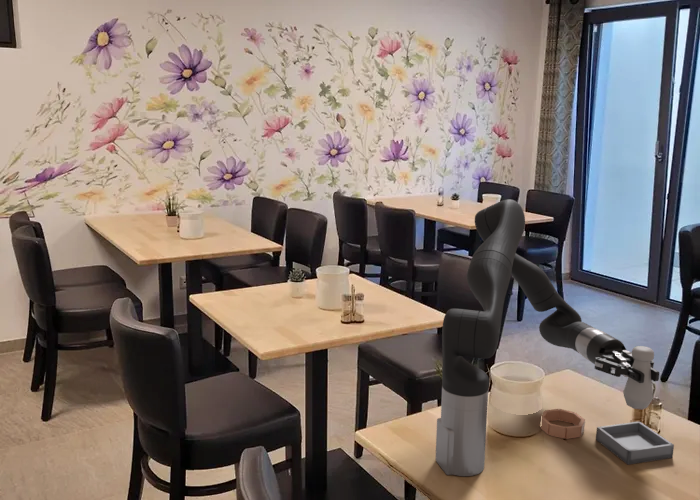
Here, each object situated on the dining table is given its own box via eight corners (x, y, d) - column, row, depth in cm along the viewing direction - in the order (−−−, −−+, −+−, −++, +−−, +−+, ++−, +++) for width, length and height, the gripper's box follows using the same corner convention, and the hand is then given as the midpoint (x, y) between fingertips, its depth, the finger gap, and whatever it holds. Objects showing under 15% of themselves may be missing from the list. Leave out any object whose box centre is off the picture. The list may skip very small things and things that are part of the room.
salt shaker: (620, 407, 144) (626, 349, 141) (623, 397, 149) (629, 341, 146) (650, 413, 142) (657, 355, 139) (652, 402, 147) (659, 346, 144)
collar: (554, 440, 151) (555, 430, 150) (533, 421, 159) (533, 411, 159) (591, 435, 153) (592, 425, 153) (568, 417, 162) (568, 407, 161)
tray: (627, 464, 141) (629, 451, 140) (595, 439, 151) (596, 427, 151) (672, 457, 144) (674, 444, 143) (638, 433, 154) (639, 421, 153)
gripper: (574, 335, 155) (623, 364, 138) (627, 330, 158) (680, 357, 142) (571, 366, 156) (619, 398, 140) (624, 360, 160) (676, 391, 144)
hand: (650, 377), depth 141 cm, fingers closed on salt shaker, 3 cm apart
